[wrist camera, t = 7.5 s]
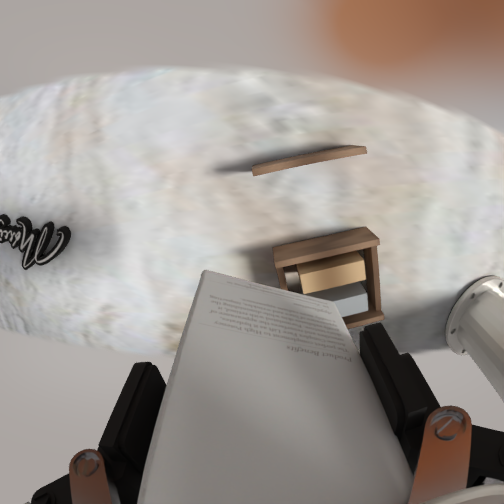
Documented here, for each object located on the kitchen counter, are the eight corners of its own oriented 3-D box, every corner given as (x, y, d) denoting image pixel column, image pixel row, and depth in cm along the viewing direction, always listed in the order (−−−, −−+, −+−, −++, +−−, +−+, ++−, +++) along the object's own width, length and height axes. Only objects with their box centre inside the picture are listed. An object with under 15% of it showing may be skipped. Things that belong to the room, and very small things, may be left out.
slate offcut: (353, 271, 33) (366, 293, 28) (354, 287, 33) (368, 310, 29) (300, 283, 33) (306, 307, 29) (303, 299, 34) (309, 324, 29)
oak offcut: (349, 242, 31) (363, 260, 27) (351, 259, 32) (365, 279, 27) (294, 254, 32) (299, 274, 27) (297, 271, 33) (303, 294, 28)
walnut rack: (352, 145, 28) (365, 146, 24) (372, 301, 34) (384, 319, 30) (252, 165, 29) (251, 169, 25) (289, 320, 35) (292, 341, 31)
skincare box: (186, 342, 14) (120, 599, 3) (204, 259, 13) (93, 600, 1) (307, 369, 15) (345, 609, 3) (343, 294, 13) (455, 578, 2)
